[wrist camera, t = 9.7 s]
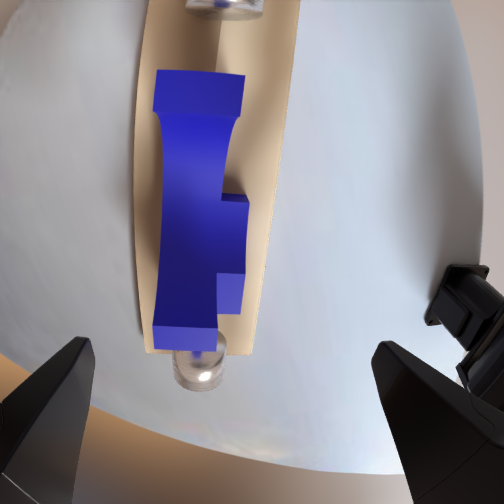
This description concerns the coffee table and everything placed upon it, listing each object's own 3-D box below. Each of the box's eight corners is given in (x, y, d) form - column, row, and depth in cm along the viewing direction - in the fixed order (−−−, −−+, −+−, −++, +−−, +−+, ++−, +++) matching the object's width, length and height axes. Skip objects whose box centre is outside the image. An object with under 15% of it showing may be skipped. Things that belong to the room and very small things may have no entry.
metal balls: (262, -21, 12) (276, -47, 9) (222, 355, 23) (226, 392, 20) (195, -27, 11) (193, -55, 8) (174, 354, 22) (172, 391, 19)
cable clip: (235, 285, 20) (247, 351, 15) (164, 282, 19) (154, 349, 14) (260, 88, 15) (288, 81, 10) (174, 81, 14) (156, 69, 9)
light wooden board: (296, -8, 13) (302, -14, 12) (249, 344, 24) (251, 354, 23) (157, -20, 12) (154, -27, 11) (147, 341, 23) (145, 352, 22)
